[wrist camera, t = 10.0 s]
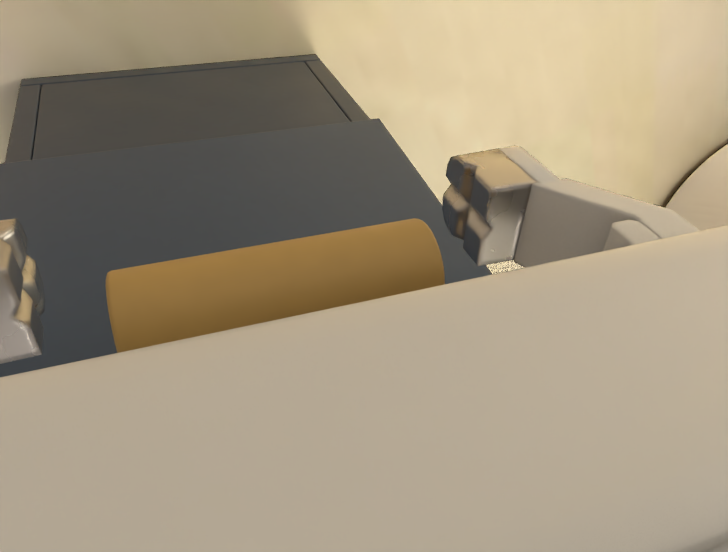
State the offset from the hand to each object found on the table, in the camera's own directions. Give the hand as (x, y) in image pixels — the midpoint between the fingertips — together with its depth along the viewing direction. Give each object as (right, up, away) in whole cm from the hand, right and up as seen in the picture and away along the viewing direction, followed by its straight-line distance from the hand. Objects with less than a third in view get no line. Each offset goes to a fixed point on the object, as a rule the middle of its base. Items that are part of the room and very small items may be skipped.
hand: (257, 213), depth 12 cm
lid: (-1, -2, +5) cm, 5 cm away
